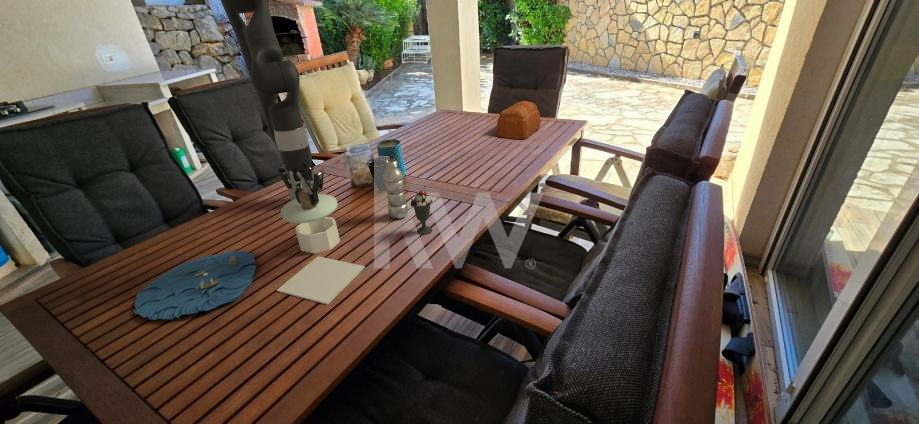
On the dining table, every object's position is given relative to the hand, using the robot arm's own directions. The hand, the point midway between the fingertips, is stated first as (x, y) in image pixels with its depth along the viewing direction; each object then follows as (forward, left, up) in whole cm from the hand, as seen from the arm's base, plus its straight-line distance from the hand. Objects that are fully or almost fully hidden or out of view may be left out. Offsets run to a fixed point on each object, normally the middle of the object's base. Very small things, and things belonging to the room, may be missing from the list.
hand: (308, 203), depth 110 cm
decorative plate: (-20, -23, -17) cm, 35 cm away
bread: (+27, +130, -17) cm, 133 cm away
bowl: (-4, +4, -16) cm, 17 cm away
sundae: (+24, +20, -16) cm, 36 cm away
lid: (0, 0, -2) cm, 2 cm away
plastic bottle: (+11, +26, -16) cm, 33 cm away
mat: (+9, -11, -16) cm, 22 cm away
